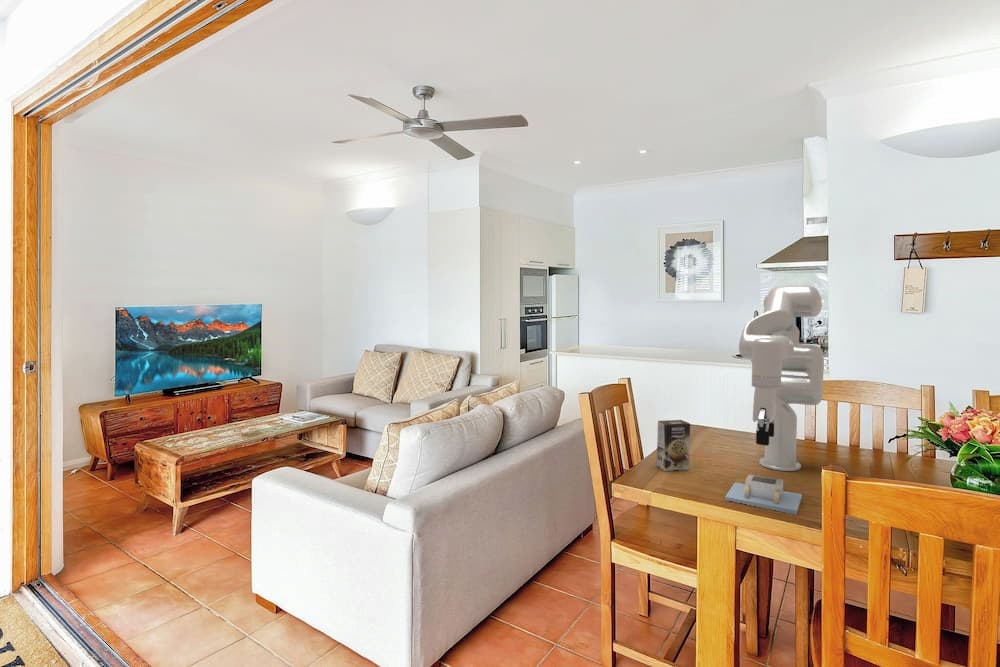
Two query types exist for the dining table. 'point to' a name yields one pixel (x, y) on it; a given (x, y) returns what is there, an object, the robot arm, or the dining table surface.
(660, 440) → the cookie box
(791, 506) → the blue pegged holder base
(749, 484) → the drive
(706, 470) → the dining table surface
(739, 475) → the dining table surface
